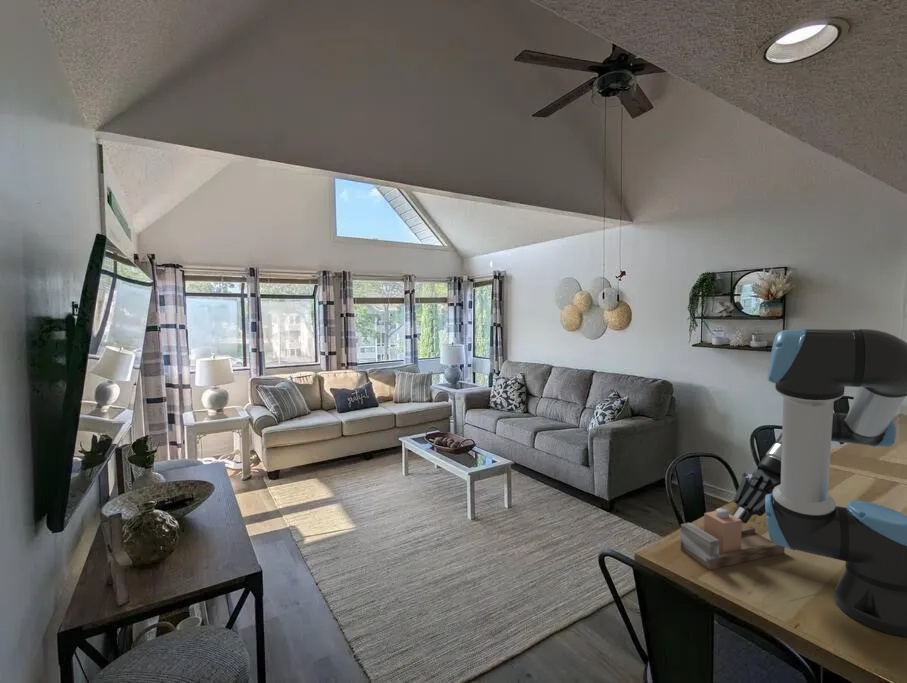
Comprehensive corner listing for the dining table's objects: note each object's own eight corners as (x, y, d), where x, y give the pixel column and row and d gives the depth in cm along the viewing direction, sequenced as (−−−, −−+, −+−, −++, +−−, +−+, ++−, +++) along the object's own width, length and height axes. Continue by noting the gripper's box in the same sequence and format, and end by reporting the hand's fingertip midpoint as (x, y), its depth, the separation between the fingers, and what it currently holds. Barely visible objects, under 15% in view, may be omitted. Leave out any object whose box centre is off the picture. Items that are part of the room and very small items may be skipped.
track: (751, 535, 131) (751, 511, 130) (784, 553, 121) (785, 526, 120) (680, 549, 124) (680, 524, 124) (709, 569, 114) (709, 542, 114)
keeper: (721, 540, 125) (721, 504, 125) (741, 552, 119) (741, 514, 118) (704, 543, 124) (704, 507, 123) (723, 555, 118) (723, 517, 117)
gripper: (809, 479, 121) (760, 548, 118) (765, 464, 133) (719, 525, 130) (794, 463, 119) (744, 532, 116) (751, 449, 132) (705, 511, 129)
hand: (731, 528), depth 123 cm, fingers closed
